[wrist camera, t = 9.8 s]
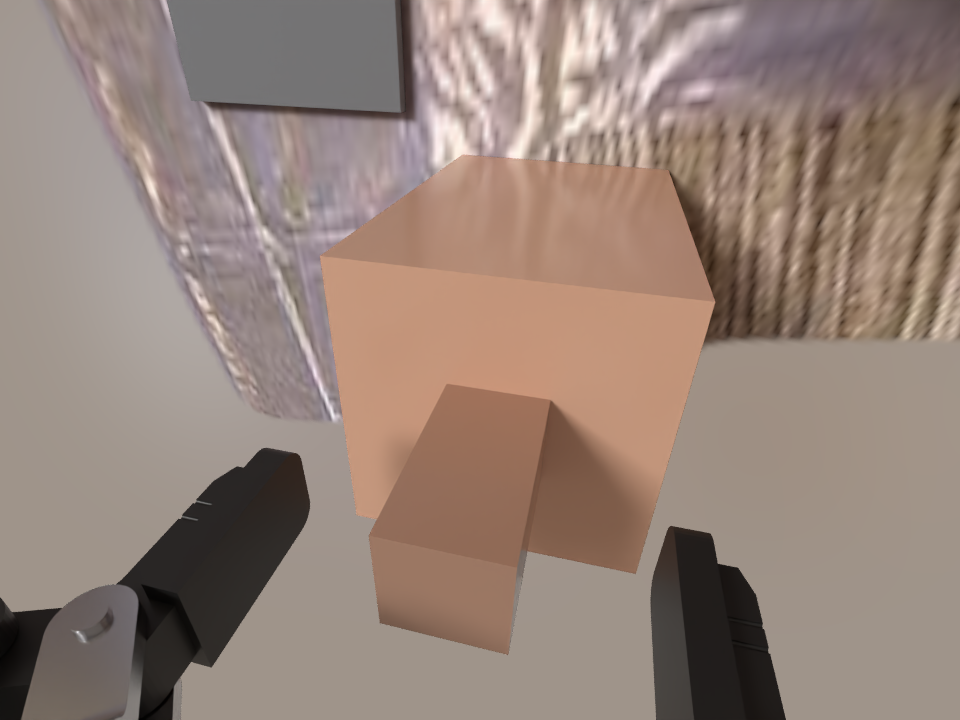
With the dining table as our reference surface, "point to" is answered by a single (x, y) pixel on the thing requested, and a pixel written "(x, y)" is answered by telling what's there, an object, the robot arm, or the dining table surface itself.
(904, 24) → the dining table surface
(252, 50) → the mat
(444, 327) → the orange square bottle
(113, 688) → the robot arm
